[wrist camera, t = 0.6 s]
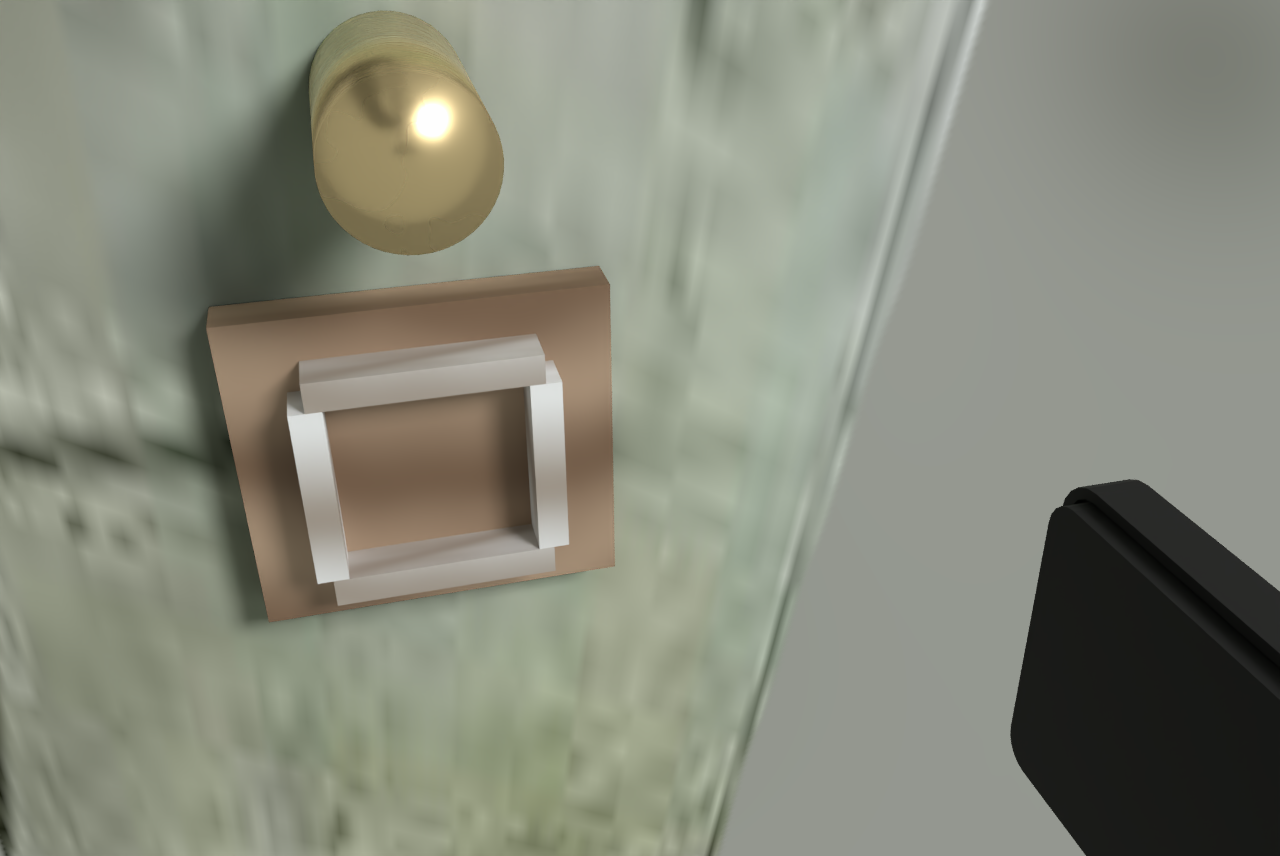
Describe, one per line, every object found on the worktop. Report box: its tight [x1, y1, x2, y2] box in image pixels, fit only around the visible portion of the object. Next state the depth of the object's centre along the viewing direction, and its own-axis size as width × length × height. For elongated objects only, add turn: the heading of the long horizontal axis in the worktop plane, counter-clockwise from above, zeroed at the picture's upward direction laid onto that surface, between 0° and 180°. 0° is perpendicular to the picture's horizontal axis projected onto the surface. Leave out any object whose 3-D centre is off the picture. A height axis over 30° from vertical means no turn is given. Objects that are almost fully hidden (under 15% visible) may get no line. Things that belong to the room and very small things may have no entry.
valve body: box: [309, 11, 504, 255], centre depth 30 cm, size 4×4×7 cm
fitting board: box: [206, 266, 615, 622], centre depth 38 cm, size 11×12×3 cm
